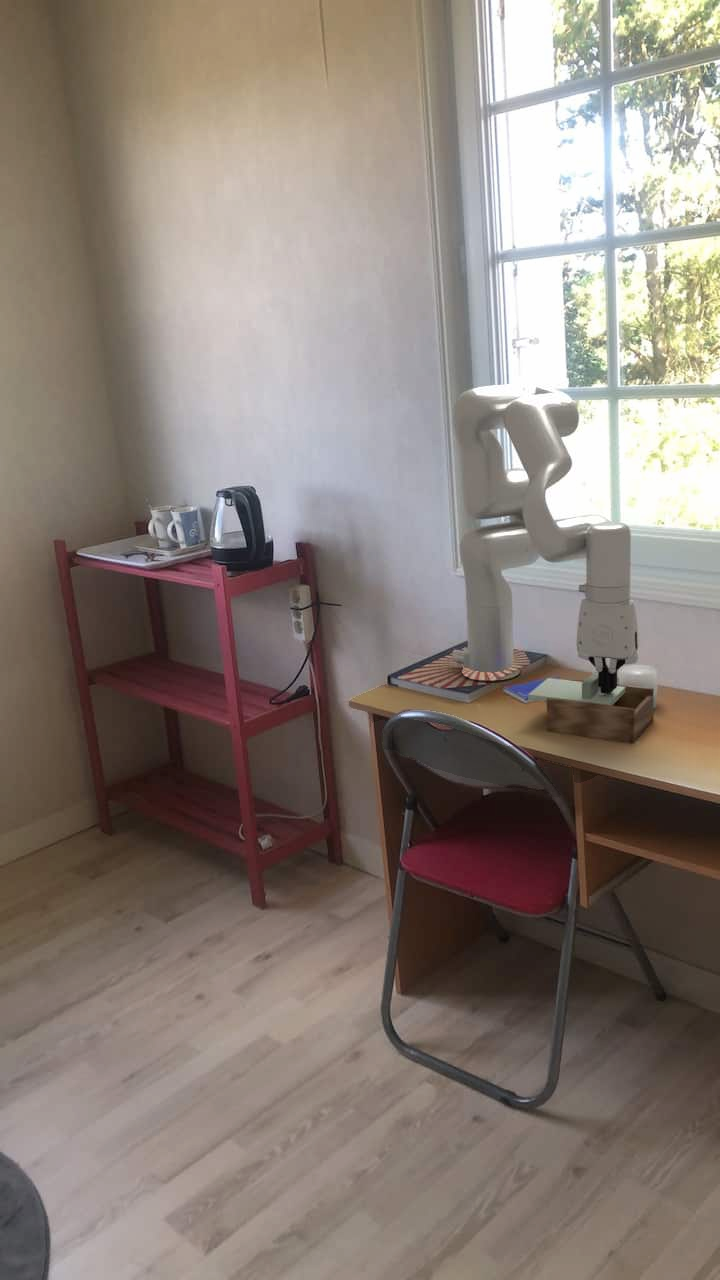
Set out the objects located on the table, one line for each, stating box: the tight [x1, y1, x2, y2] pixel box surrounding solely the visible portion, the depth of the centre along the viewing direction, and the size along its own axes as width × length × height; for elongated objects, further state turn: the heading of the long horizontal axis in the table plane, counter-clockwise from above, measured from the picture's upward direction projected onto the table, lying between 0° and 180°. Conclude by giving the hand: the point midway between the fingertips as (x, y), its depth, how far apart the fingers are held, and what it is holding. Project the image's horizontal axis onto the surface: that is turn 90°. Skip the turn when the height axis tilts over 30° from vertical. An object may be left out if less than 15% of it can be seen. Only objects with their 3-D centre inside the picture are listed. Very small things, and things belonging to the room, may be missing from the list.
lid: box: [528, 671, 625, 706], centre depth 200 cm, size 15×10×4 cm, turn 59°
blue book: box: [503, 676, 563, 704], centre depth 219 cm, size 2×8×12 cm
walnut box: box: [546, 678, 654, 744], centre depth 199 cm, size 16×12×6 cm
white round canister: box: [618, 664, 658, 710], centre depth 208 cm, size 7×7×7 cm
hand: (607, 691), depth 197 cm, fingers closed
